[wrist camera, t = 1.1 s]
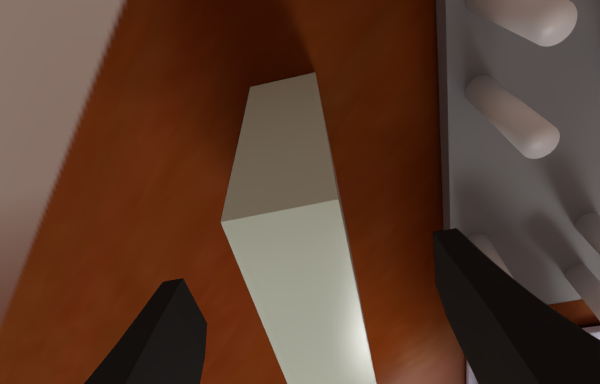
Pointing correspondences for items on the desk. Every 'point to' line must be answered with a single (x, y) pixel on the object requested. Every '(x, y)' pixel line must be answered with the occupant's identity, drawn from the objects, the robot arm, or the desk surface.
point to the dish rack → (524, 138)
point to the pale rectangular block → (296, 237)
